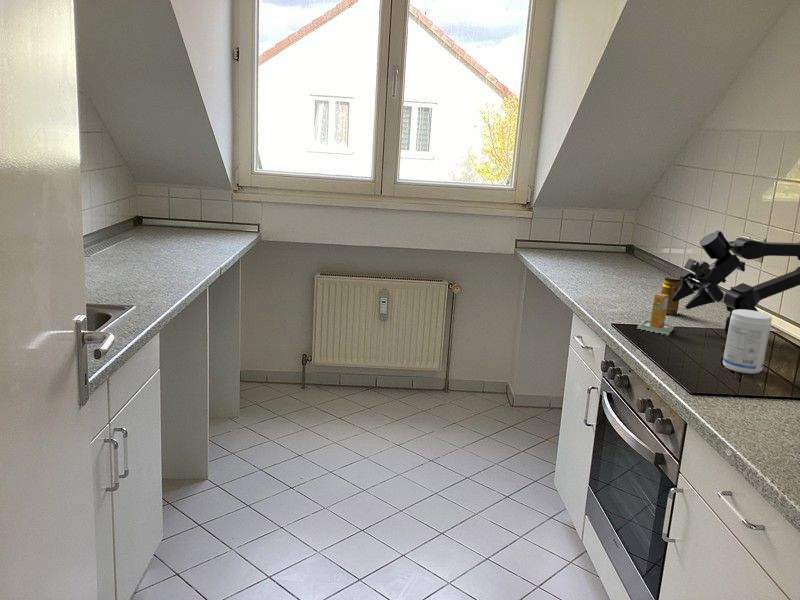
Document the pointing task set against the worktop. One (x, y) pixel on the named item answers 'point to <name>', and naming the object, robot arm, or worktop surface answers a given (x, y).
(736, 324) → the supplement tub
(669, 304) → the condiment
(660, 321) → the supplement box
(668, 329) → the plate
